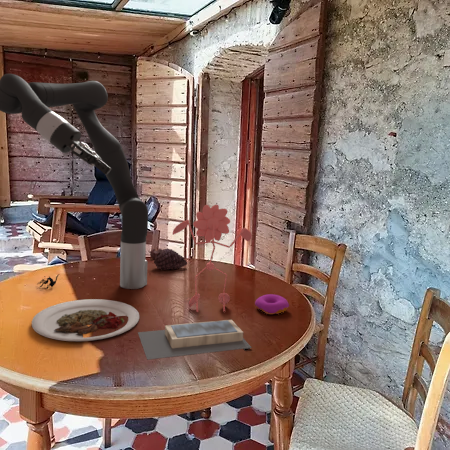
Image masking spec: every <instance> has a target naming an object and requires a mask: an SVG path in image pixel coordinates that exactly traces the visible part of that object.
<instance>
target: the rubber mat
mask: <svg viewBox="0 0 450 450" xmlns="http://www.w3.org/2000/svg"><path fill="white" fill-rule="evenodd" d="M137 334H138V337H139V340H140V343H141V345H142V348H143V352H144V355H145V357H146V360H147V361H148V360H155V359H156V360H157V359H165V358H174V357H181V356H183V357H184V356H191V355H200V354H208V353H216V352H217V353H218V352H224V351H226V352H227V351H235V350H242V349H243V351H246V350H245V349H250V348H252V346H251V345H250V344H249V343H248V342H247V341H246V339H245V338H244V337H243V341H236V342H227V343H217V344H208V345H199V346H190V347H180V348H172V347H171V345H170V343H169V341H168V339H167V337H166V335H165V329H160V330H159V329H158V330H148V331H137Z"/></svg>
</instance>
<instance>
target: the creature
mask: <svg viewBox="0 0 450 450" xmlns="http://www.w3.org/2000/svg"><path fill="white" fill-rule="evenodd" d="M59 276H60V274H59V273H58V274H57V275H56V277H55V280H54V279H53V278H51V276H48V277H47V278H46V277H45V278H42V280H40V281H38V282H37V284H41V285H40V286H39V287H37V288H36V290H37V289H41V288H43V286H44V285H47V287H46V288H44V289H46V290H48V288H49V287H51V288H53V287H54V286H55V285H56V283H57V281H58V277H59Z"/></svg>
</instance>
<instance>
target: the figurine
mask: <svg viewBox="0 0 450 450" xmlns="http://www.w3.org/2000/svg"><path fill="white" fill-rule="evenodd" d="M228 212H229V211H228V209H226V208H220V206H219V204H214V205H212V206H211V207H210V205H208V204H205V205H204V206H203V208H202V212H201V211H196V214H195V215H196V219H197V220H195V221H194V222H192V225H193V227H194V228H196V229H197V230H196V232H195V234H196V236H198V237H204V241H200V242H197V240H196V238H195V235H194V233H193V230H192V227H191V224H190V220H189V219H186V220H183V221H182V222H180V223H178V224H177V225H176V226H175V227H174V228H173V229H172V230H173V231H172V235H174V236H175V235H176V234H178V233H180V232H182V231H183V230H185V229H186V228H187V227H188V229H189V231H190V234H191V237H192V239H193V243H194V245H196V246H197V245H203V244H211V245H212V247H213V248H212V252H211V255H210V260H209V262H207V263H206V265H205V267H204V268H203V269H202V270H201V271H199V272H198V273H197V274H196V275H195V277H194V281H195V284H194V285H195V286H194V287H195V288H194V289H195V292H194V293H195V294H194V295H193V296H192V297H191V299H190V298H189V301H188V308H191V307H192V306H194V305H196V306H195V307H196V308H195V309H196V313H199V302H198V301H199V300H200V297H201V294H200V293H197V291H198V290H197V277H198V276H199V275H200V274H202V272H204V271H205V270H208V271H213V270H214V269H215V270H217V271H218V272H220V273H221V274H223V275H225V279H224V286H223V292H222V293H219V295H218V302H219V303H221V304H222V306H223V307H222V308H223V312H224V311H225V312H226V305H227V304H228V303H229V302H230V298H231V297H230V295H229V293H227V292H226V291H225V290H226V284H227V279H228V274H227V273H226V272H224V271H222V270H220V269H218V268H217V267H215V264H214V263H213V262H212V259H213V256H214V253H215V249H216V246H215V244H217V245H219V246H222V247H226V248H229V249H231V248H232V246H233V245H234V243H236V241H237V240H238V239H239V238H240V236H241V237H242V239H244V240H245V241H246V242H250V241H251V240H252V238H253V237H252V236H253V234H252V232H251V231H250V230H249V229H248V228H246V227H243V228H241V229H240V232H239V234H238V235H237V236H236V237H235V239H234V240H233V241H232V242H231V244H230V245H226V244H224V243H220V242H218V241H220V240H221V238H222V234H225V235H227V234H229V233H230V228H229V226H228V225H230V223H231V219H230V218H228V216H227V214H228ZM179 303H180V301H178V302H177V304H179ZM225 304H226V305H225Z"/></svg>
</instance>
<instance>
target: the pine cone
mask: <svg viewBox="0 0 450 450" xmlns="http://www.w3.org/2000/svg"><path fill="white" fill-rule="evenodd" d="M148 253H149V255H150V257H149V258H150V259H149V261H151V262H153V264H154V265H155V267H156V268H157V269H159V270H161V271H166V270H178V269H181V268H183V267H185V266H187V265H188V261H187V260H186V258H185V256H183V255H181V254H179V252H177V251H175V250H173V249H171V248H164V249H162V248H158V249H157V250H156V249H154V248H153V249H152V250H151V251H149V252H148ZM177 268H178V269H177Z"/></svg>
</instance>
